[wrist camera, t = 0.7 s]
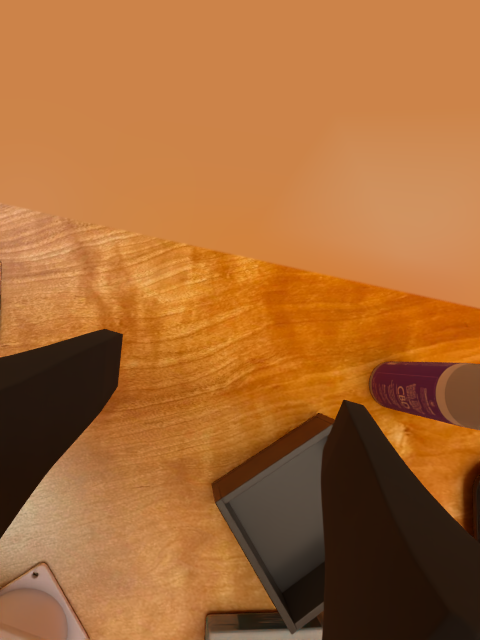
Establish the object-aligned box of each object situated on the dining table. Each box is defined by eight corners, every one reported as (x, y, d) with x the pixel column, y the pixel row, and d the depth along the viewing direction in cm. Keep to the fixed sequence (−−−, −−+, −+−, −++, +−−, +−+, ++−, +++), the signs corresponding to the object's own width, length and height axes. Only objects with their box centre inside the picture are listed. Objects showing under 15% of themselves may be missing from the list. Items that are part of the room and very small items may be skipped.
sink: (278, 599, 34) (291, 635, 30) (211, 483, 34) (215, 502, 30) (382, 521, 36) (409, 544, 32) (319, 412, 36) (337, 420, 32)
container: (359, 384, 37) (474, 403, 23) (389, 351, 38) (518, 348, 23) (391, 418, 38) (526, 457, 23) (420, 384, 38) (568, 401, 24)
